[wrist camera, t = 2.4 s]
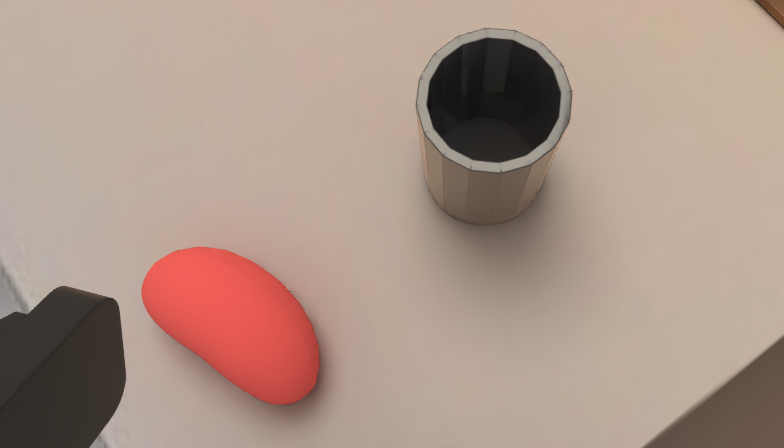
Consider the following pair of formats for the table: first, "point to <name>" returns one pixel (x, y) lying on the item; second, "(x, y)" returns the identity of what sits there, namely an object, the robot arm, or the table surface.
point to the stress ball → (235, 321)
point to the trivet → (774, 9)
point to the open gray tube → (490, 123)
